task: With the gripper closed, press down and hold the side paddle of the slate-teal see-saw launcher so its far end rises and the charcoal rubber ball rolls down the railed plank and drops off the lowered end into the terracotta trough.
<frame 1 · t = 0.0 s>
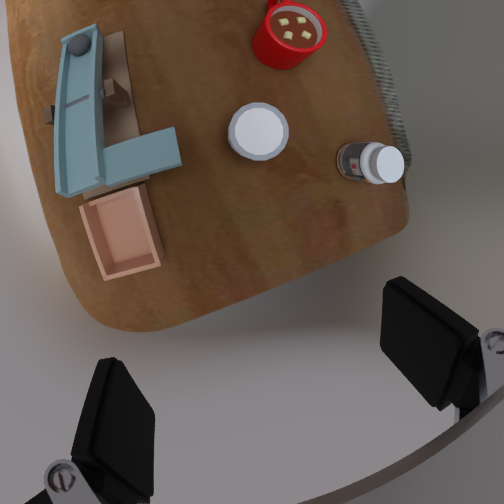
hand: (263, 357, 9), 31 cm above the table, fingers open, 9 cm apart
white cylinder: (248, 135, 36), on the table
launcher base: (99, 110, 30), on the table
lever: (105, 87, 23), point 8 cm above the table, hinge at -21.0°, touching ball
trough: (127, 226, 36), on the table
mug 2: (274, 35, 31), on the table
ball: (79, 44, 22), point 6 cm above the table, tilted 6°, touching lever
pill bottle: (350, 160, 40), on the table
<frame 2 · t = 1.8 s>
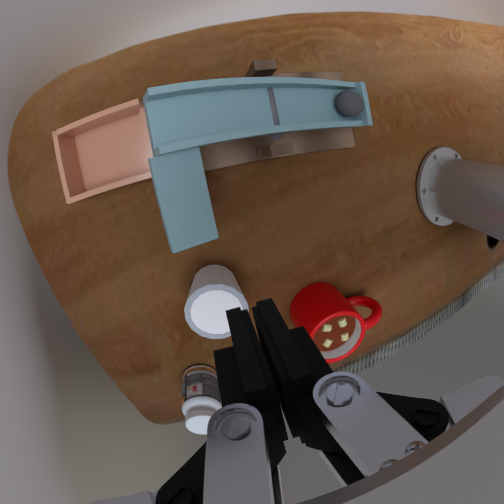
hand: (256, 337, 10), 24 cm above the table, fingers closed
white cylinder: (214, 284, 36), on the table
launcher base: (257, 117, 30), on the table
lever: (282, 144, 23), point 8 cm above the table, hinge at -21.0°, touching ball
trough: (113, 152, 28), on the table
mug 2: (328, 302, 40), on the table
ball: (349, 103, 25), point 6 cm above the table, tilted 6°, touching lever
pill bottle: (201, 375, 41), on the table
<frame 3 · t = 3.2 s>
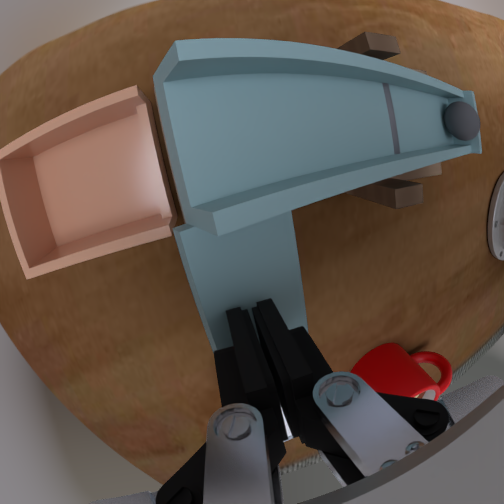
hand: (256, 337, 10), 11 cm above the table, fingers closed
launcher base: (328, 126, 19), on the table
lever: (408, 186, 12), point 8 cm above the table, hinge at -20.1°, touching ball, gripper
trough: (95, 180, 17), on the table
mug 2: (389, 361, 29), on the table
ball: (462, 120, 14), point 6 cm above the table, touching lever
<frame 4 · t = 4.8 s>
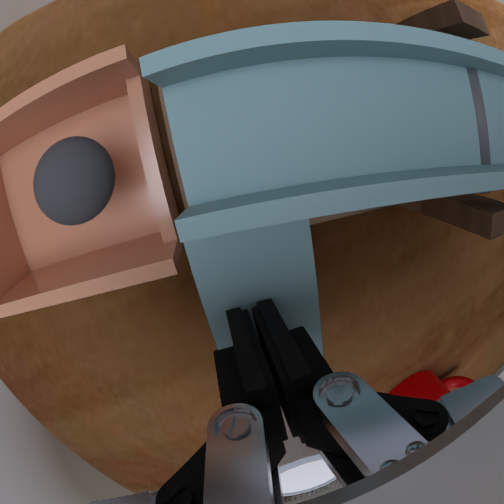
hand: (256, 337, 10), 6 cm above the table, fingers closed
white cylinder: (281, 404, 20), on the table
launcher base: (379, 121, 14), on the table
lever: (492, 210, 7), point 8 cm above the table, hinge at 10.9°, touching gripper
trough: (74, 186, 12), on the table
mug 2: (419, 388, 24), on the table
ball: (73, 180, 8), point 5 cm above the table, tilted 169°
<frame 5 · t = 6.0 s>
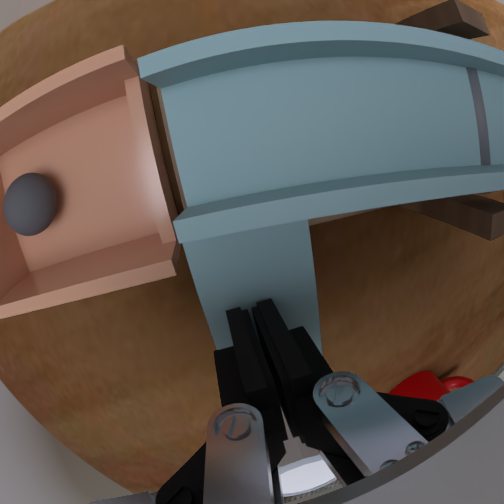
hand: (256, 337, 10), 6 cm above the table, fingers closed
white cylinder: (280, 405, 20), on the table
launcher base: (378, 121, 14), on the table
lever: (492, 211, 7), point 8 cm above the table, hinge at 11.1°, touching gripper
trough: (73, 187, 12), on the table
mug 2: (419, 388, 24), on the table
ball: (30, 204, 10), point 2 cm above the table, tilted 65°, touching trough
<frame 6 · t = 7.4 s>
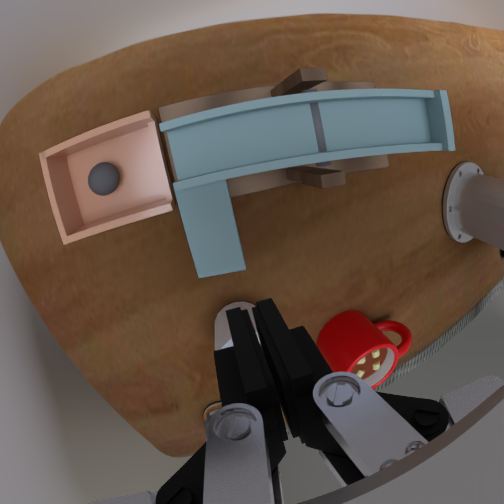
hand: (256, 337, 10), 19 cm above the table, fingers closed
white cylinder: (238, 321, 32), on the table
launcher base: (287, 133, 26), on the table
lever: (325, 174, 20), point 8 cm above the table, hinge at 11.3°
trough: (115, 175, 24), on the table
mug 2: (355, 328, 36), on the table
ball: (103, 178, 22), point 2 cm above the table, tilted 24°, touching trough
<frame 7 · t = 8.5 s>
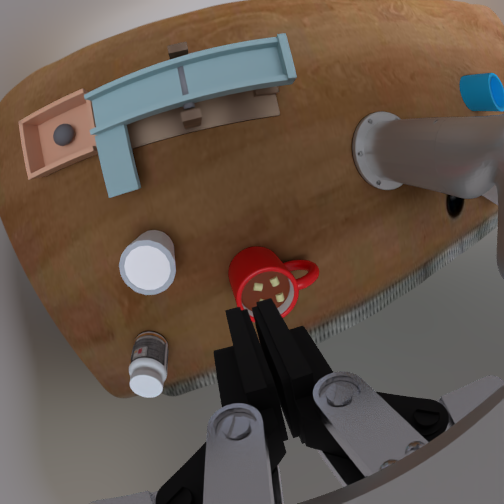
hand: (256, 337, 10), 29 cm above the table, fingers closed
white cylinder: (154, 249, 38), on the table
launcher base: (186, 96, 32), on the table
lever: (185, 112, 25), point 8 cm above the table, hinge at 11.3°
trough: (68, 136, 30), on the table
mug 2: (268, 267, 42), on the table
ball: (63, 134, 28), point 2 cm above the table, tilted 8°, touching trough
pill bottle: (151, 343, 42), on the table
cup: (480, 179, 46), on the table
mug: (472, 92, 39), on the table
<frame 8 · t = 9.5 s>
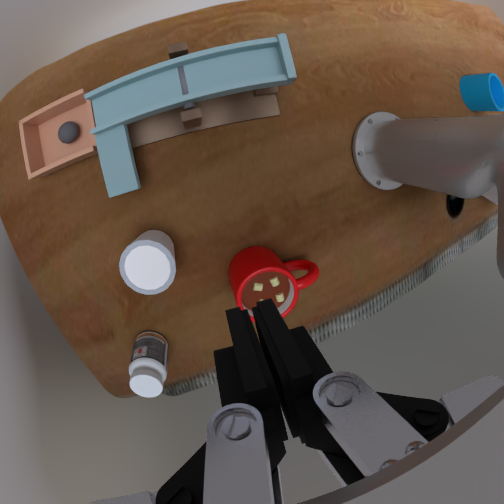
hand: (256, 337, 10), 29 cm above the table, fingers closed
white cylinder: (154, 249, 38), on the table
launcher base: (186, 96, 32), on the table
lever: (185, 112, 25), point 8 cm above the table, hinge at 11.3°
trough: (68, 136, 30), on the table
mug 2: (268, 267, 42), on the table
ball: (68, 132, 28), point 2 cm above the table, tilted 38°, touching trough
pill bottle: (151, 343, 42), on the table
cup: (480, 179, 46), on the table
mug: (472, 92, 39), on the table
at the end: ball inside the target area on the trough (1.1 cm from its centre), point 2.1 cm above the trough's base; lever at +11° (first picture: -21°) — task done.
